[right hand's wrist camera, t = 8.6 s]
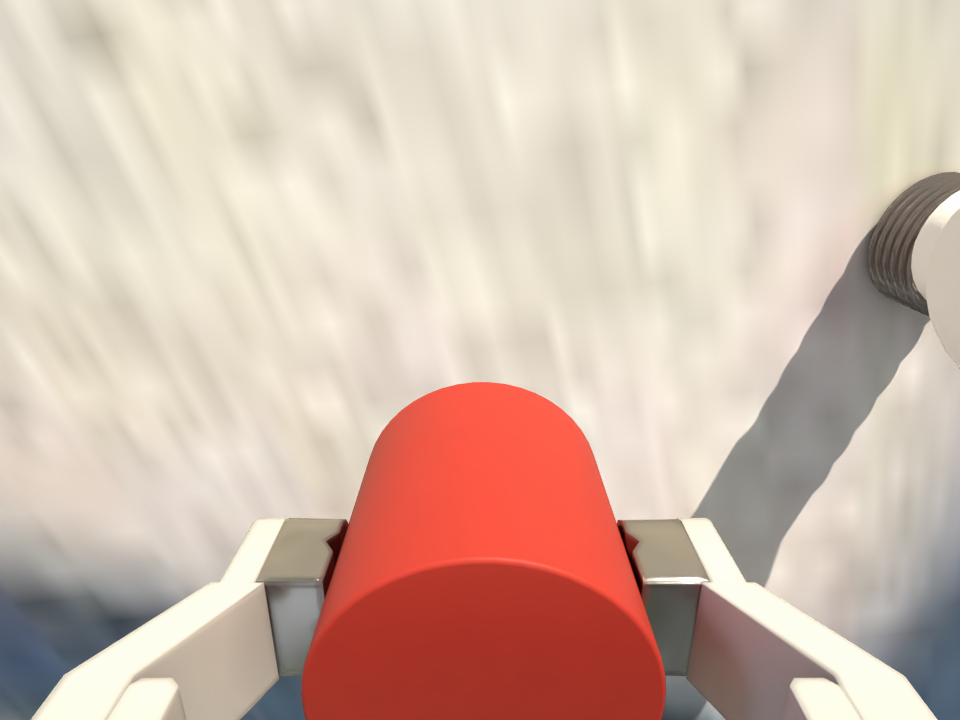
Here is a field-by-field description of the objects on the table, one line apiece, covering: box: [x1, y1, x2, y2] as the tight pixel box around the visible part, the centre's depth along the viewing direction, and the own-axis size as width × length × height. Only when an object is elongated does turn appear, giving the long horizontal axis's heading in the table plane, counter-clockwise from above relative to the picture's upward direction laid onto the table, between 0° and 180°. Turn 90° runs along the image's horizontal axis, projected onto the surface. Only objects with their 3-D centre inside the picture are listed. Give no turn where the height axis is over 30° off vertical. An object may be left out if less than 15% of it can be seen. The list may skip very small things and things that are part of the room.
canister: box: [301, 382, 666, 720], centre depth 10 cm, size 5×5×5 cm
